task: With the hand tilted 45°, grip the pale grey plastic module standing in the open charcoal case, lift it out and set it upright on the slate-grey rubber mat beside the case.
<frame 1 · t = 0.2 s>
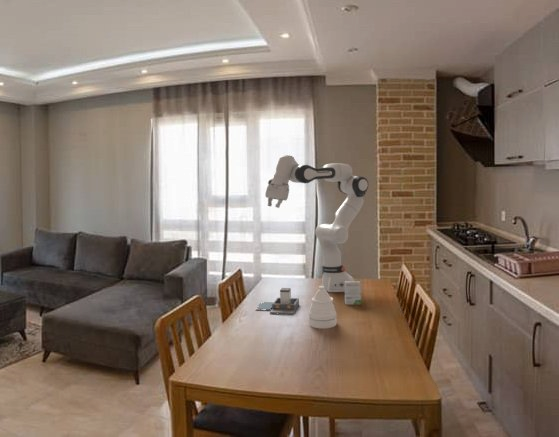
hand: (273, 206, 235), 52 cm above the table, tool tilted 20°, fingers open, 8 cm apart
ink box: (353, 303, 225), on the table
module: (285, 307, 222), resting in equipment case
honey pot: (322, 323, 196), on the table
mat: (265, 306, 224), on the table
equipment case: (285, 307, 221), on the table
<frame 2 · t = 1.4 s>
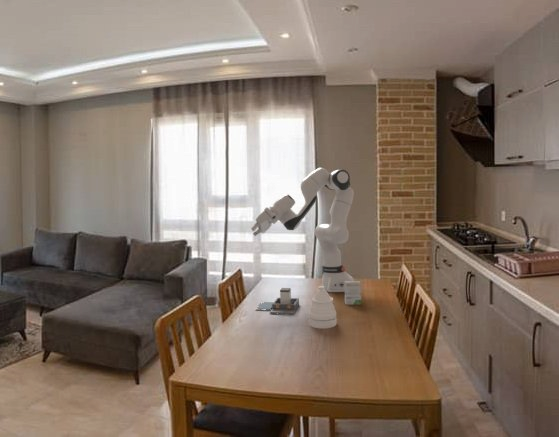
hand: (253, 232, 235), 38 cm above the table, tool tilted 50°, fingers open, 8 cm apart
nothing on the table moved.
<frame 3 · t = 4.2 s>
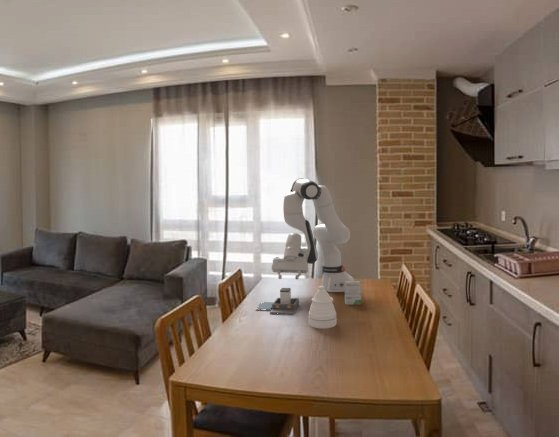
hand: (288, 278, 229), 13 cm above the table, tool tilted 45°, fingers open, 8 cm apart
nothing on the table moved.
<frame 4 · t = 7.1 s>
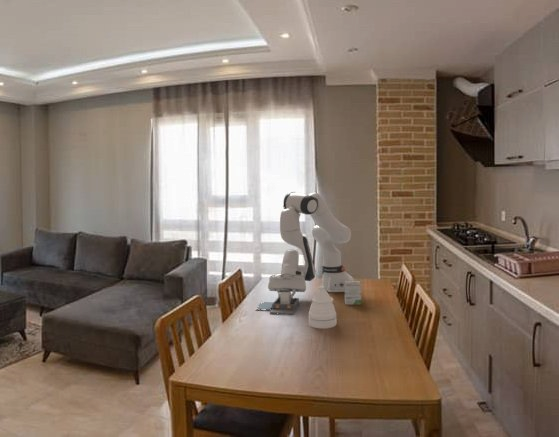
hand: (285, 298, 220), 5 cm above the table, tool tilted 45°, fingers closed on module, 5 cm apart
module: (285, 307, 221), resting in equipment case, touching gripper
everything else where it was.
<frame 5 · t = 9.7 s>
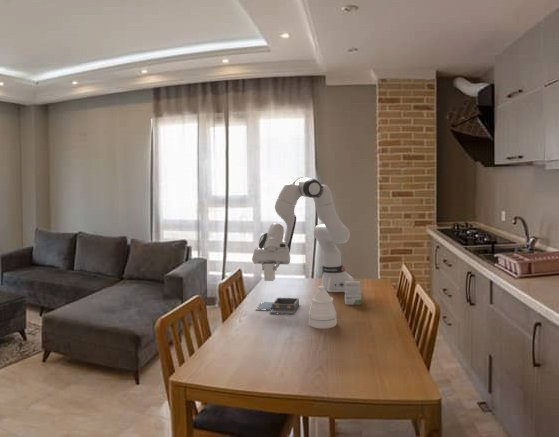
hand: (269, 269, 220), 20 cm above the table, tool tilted 45°, fingers closed on module, 5 cm apart
module: (269, 279, 221), point 15 cm above the table, touching gripper
everything else where it was.
when the fingers open (8 cm above the table, at t = 12.6 s): module drops 1 cm, resting on mat.
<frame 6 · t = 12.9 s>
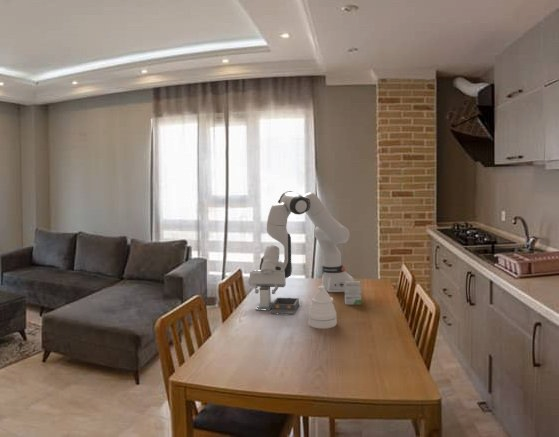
hand: (264, 293, 223), 8 cm above the table, tool tilted 45°, fingers open, 8 cm apart
module: (265, 305, 224), point 1 cm above the table, touching mat
everything else where it was.
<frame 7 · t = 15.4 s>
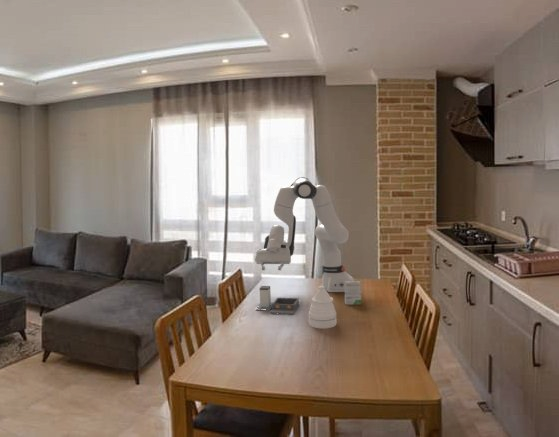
hand: (271, 269, 234), 17 cm above the table, tool tilted 45°, fingers open, 8 cm apart
nothing on the table moved.
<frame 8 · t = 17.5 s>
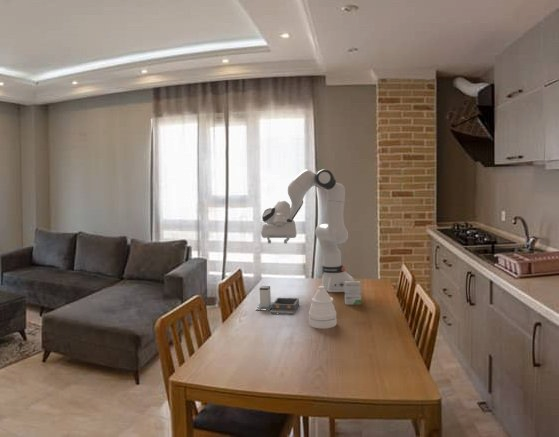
hand: (277, 242, 238), 31 cm above the table, tool tilted 45°, fingers open, 8 cm apart
nothing on the table moved.
at the end: module inside the target area on the mat (0.0 cm from its centre), point 0.8 cm above the mat's base; module tilted 0°; the gripper is holding nothing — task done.
